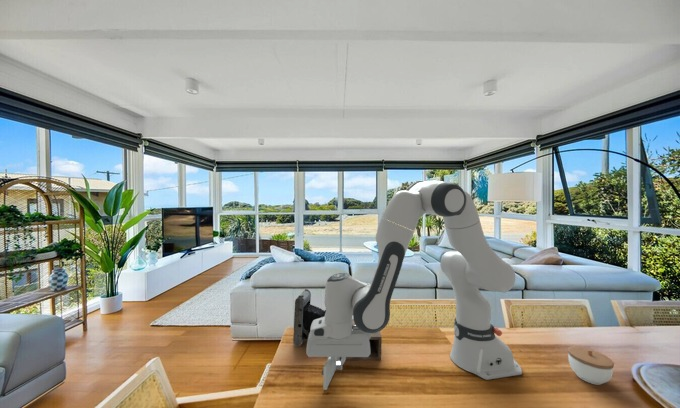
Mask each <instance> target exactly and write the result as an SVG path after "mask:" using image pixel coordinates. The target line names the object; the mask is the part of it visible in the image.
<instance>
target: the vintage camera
mask: <svg viewBox="0 0 680 408" xmlns="http://www.w3.org/2000/svg"><path fill="white" fill-rule="evenodd" d="M311 297H312V294H311V291H310V290H309V289H308V288H307V289H306V288H305V289H304V290H302V292H301V293H300V294H299V295H298V296H297V298H295V300H294V316H293V335H292V336H293V338H292V343H293V345H294V346H295V347H300V346H301V345H302V344H303V342H304V341H305V340H308V337H309V333H310V329H311V324H312V322H313V320H315V319H318V318H321V317H324V316H325V312H326V309H322V308H320V307H319V306H316V305H313V304H311Z"/></svg>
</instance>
